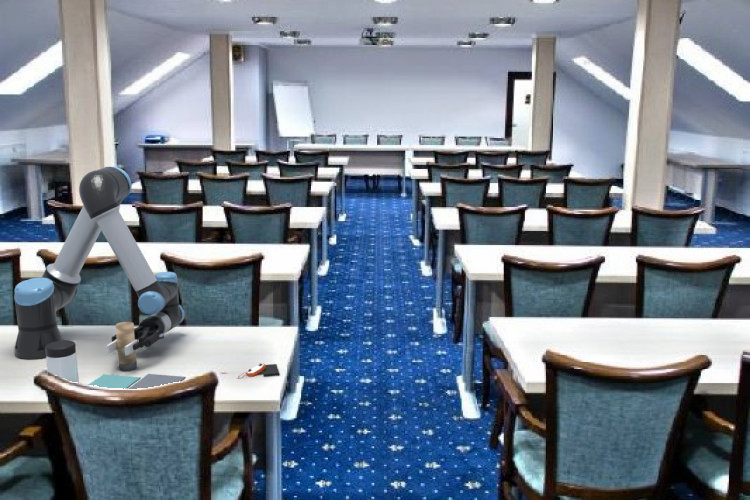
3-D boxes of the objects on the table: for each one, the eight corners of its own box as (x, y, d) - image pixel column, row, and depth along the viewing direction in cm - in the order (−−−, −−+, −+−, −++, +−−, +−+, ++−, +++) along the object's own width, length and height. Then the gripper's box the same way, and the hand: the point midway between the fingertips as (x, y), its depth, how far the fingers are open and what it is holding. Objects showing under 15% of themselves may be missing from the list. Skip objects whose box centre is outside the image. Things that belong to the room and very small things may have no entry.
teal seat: (80, 390, 217) (80, 389, 217) (103, 375, 229) (103, 374, 229) (119, 394, 215) (119, 392, 215) (140, 378, 226) (140, 377, 226)
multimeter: (217, 387, 221) (217, 375, 220) (219, 371, 233) (218, 361, 232) (279, 383, 224) (279, 372, 223) (278, 368, 235) (278, 358, 235)
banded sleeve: (115, 370, 233) (111, 326, 230) (124, 364, 238) (121, 321, 235) (131, 371, 231) (128, 327, 228) (140, 365, 237) (137, 322, 234)
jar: (71, 375, 229) (67, 337, 226) (85, 382, 224) (82, 343, 221) (42, 384, 222) (38, 345, 219) (56, 391, 217) (52, 351, 214)
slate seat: (127, 390, 217) (127, 389, 217) (148, 375, 229) (148, 373, 229) (166, 393, 215) (166, 392, 215) (185, 378, 226) (185, 376, 226)
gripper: (180, 339, 249) (145, 364, 227) (130, 335, 253) (90, 360, 231) (179, 317, 247) (144, 340, 225) (128, 313, 251) (88, 336, 229)
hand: (117, 350), depth 228 cm, fingers closed on banded sleeve, 5 cm apart
